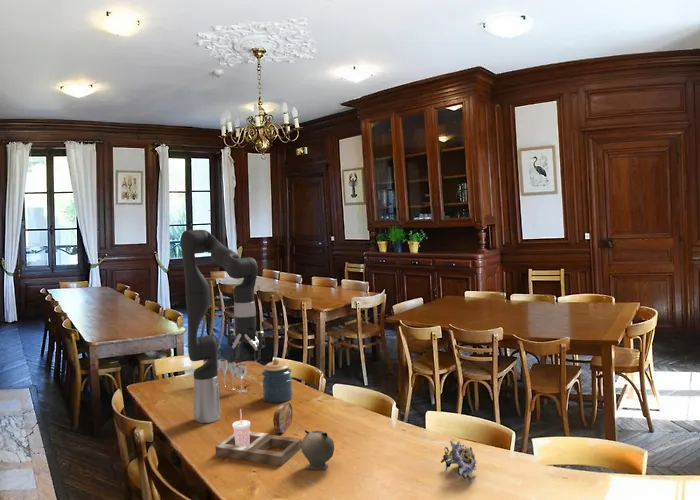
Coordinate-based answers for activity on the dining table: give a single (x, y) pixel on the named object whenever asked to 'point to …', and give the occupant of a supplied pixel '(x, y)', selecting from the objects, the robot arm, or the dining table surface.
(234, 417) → the dining table surface
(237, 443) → the beverage cup
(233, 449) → the pocket rack
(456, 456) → the passion flower
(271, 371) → the canister
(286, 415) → the tin
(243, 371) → the goblet set
